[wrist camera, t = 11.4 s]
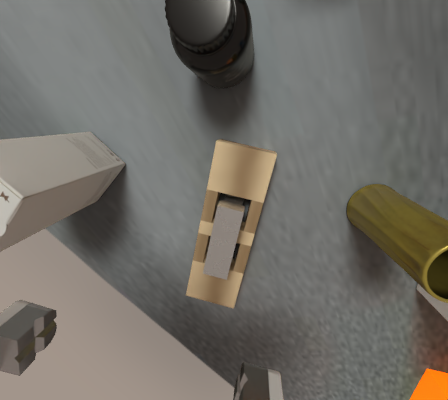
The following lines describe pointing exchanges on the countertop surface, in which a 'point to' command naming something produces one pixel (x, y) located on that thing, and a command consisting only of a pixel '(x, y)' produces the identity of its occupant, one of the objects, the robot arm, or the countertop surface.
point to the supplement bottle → (212, 38)
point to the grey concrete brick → (224, 236)
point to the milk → (435, 302)
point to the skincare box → (50, 180)
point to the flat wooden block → (249, 189)
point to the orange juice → (432, 386)
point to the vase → (405, 235)
